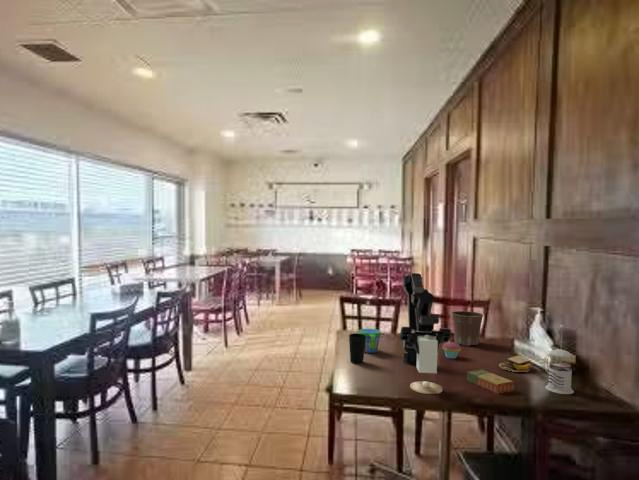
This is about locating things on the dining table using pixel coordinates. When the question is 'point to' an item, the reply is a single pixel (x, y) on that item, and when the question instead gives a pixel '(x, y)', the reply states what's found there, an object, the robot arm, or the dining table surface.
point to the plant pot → (467, 327)
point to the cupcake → (451, 349)
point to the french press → (559, 372)
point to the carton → (490, 381)
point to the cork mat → (432, 390)
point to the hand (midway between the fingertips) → (427, 353)
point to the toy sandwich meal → (516, 364)
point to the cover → (427, 354)
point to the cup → (357, 347)
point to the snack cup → (371, 339)
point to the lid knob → (426, 384)
